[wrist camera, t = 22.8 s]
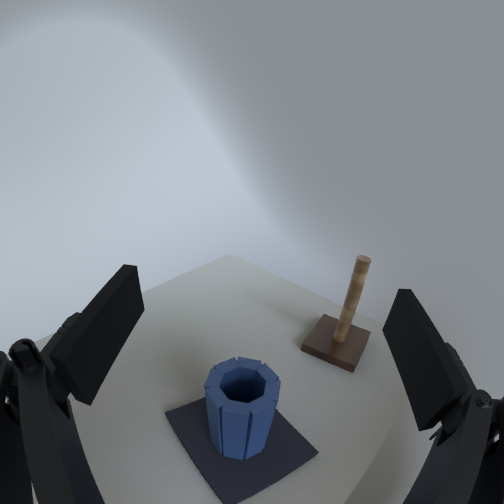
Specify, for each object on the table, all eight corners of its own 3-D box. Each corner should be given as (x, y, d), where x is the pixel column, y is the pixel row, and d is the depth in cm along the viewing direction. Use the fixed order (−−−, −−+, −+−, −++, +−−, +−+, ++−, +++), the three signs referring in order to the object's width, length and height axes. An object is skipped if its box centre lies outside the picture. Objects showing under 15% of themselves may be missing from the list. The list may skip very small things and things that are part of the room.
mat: (317, 454, 24) (319, 451, 23) (227, 508, 17) (227, 507, 17) (247, 381, 34) (248, 377, 33) (165, 415, 27) (164, 412, 27)
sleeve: (276, 442, 25) (294, 392, 20) (230, 467, 21) (231, 426, 17) (245, 408, 29) (252, 349, 24) (202, 428, 26) (193, 373, 21)
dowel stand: (368, 338, 42) (398, 256, 35) (353, 372, 35) (390, 283, 28) (322, 320, 46) (342, 238, 40) (300, 350, 40) (322, 259, 33)
